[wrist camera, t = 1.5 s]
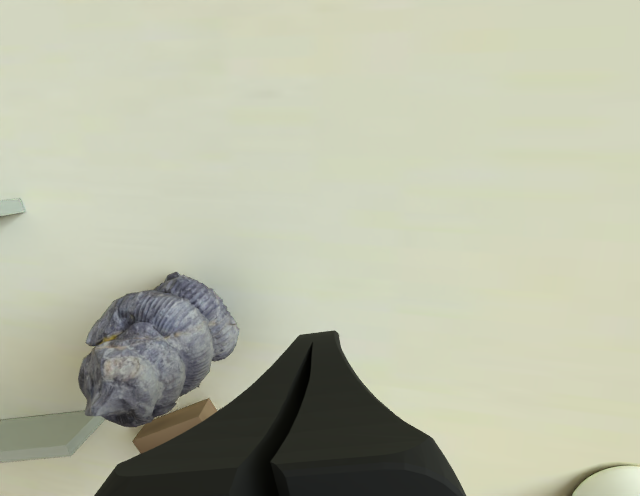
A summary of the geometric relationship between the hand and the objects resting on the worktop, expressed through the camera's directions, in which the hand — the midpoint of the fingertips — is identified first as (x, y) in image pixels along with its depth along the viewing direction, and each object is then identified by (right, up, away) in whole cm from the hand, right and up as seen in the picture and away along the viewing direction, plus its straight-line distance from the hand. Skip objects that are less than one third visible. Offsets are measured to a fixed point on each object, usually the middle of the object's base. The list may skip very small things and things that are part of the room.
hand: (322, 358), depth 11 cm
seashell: (-6, +1, +9) cm, 11 cm away
